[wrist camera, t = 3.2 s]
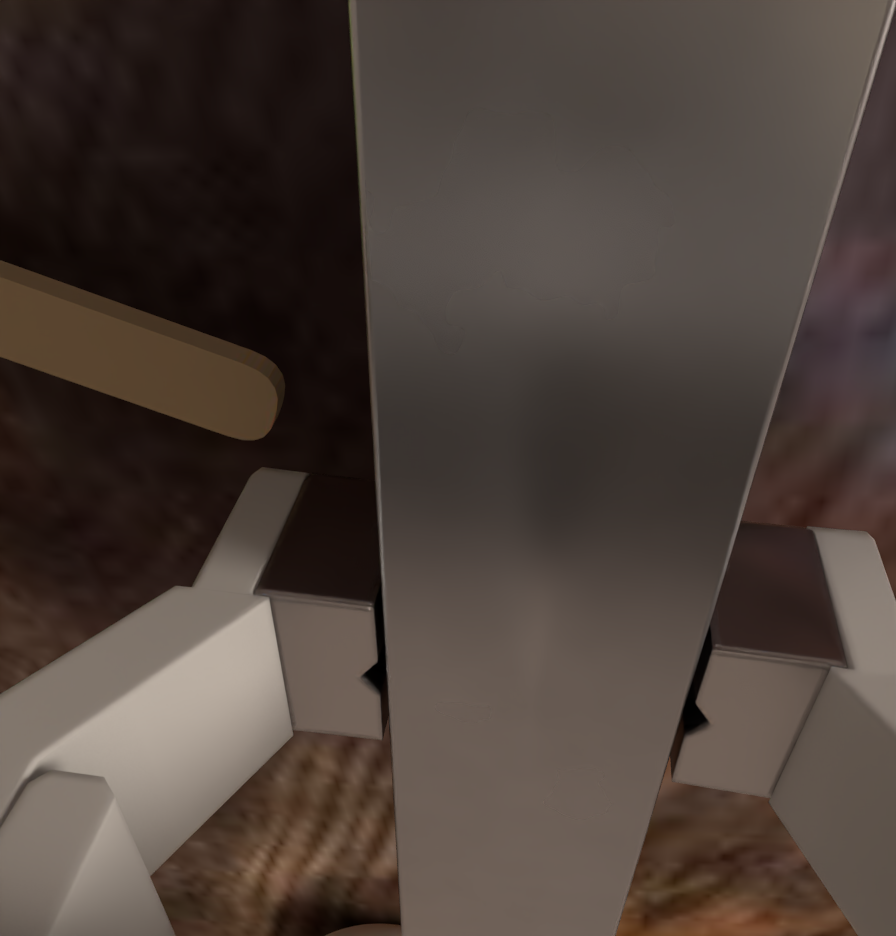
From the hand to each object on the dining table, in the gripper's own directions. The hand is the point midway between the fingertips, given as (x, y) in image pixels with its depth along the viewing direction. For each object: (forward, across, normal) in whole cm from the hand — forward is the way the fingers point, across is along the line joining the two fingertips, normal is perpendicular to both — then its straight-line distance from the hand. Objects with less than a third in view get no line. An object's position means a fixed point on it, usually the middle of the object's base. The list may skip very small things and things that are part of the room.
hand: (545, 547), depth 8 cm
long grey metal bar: (+2, 0, 0) cm, 2 cm away
